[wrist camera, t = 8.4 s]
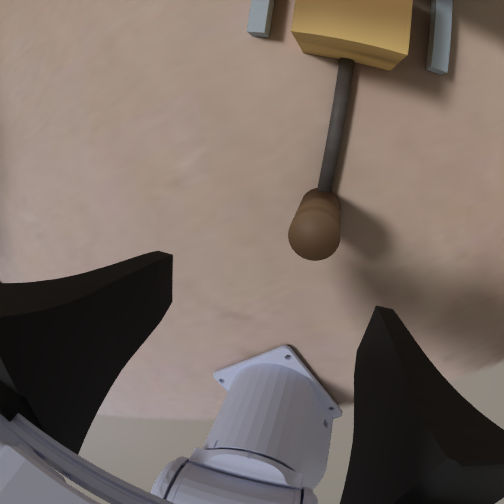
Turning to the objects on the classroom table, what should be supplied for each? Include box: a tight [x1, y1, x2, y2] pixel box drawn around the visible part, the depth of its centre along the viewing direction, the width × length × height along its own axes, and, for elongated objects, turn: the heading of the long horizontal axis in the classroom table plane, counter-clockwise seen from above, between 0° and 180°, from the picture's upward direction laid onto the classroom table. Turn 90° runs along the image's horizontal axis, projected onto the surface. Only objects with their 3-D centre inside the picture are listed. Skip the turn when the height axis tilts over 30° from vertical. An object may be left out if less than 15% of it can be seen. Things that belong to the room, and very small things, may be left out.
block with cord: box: [288, 0, 413, 261], centre depth 14 cm, size 15×5×5 cm, turn 172°
